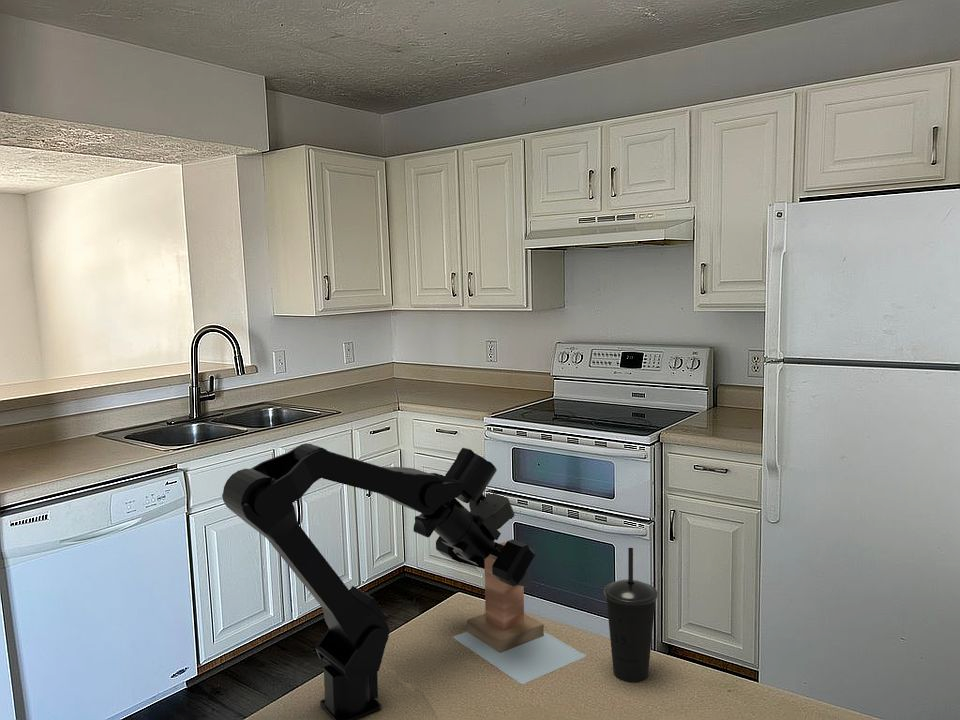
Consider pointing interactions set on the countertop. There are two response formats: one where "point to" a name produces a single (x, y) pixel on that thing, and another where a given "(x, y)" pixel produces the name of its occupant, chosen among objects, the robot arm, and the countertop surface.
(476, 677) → the countertop surface
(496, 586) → the terracotta pillar
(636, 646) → the drinking cup
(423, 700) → the countertop surface
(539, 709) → the countertop surface
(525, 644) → the board
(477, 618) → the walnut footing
